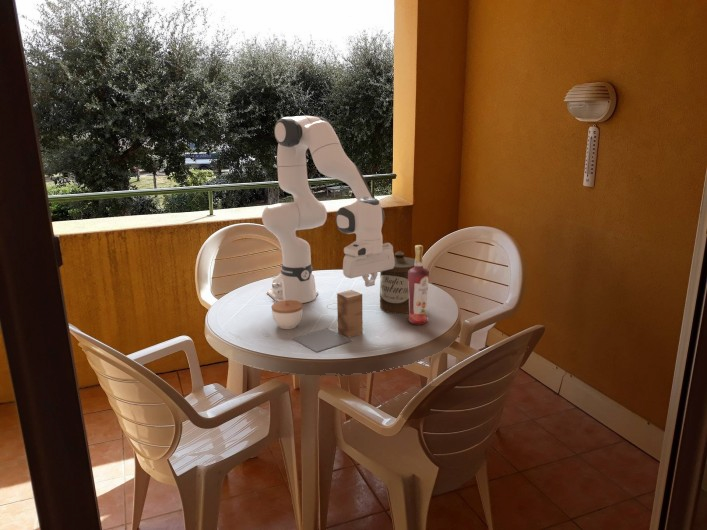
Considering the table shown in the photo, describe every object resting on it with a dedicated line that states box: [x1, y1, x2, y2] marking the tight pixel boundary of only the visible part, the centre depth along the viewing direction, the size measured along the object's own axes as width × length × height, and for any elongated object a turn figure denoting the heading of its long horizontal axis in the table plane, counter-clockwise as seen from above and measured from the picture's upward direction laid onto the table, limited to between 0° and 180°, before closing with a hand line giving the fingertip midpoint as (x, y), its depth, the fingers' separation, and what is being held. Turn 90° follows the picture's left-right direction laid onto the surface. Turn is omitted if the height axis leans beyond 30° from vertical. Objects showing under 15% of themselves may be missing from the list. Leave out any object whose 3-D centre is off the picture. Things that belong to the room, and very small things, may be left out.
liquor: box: [407, 244, 430, 326], centre depth 194 cm, size 7×7×28 cm
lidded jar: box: [271, 300, 303, 330], centre depth 195 cm, size 11×11×9 cm
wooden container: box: [379, 251, 415, 315], centre depth 210 cm, size 15×15×22 cm
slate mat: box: [292, 327, 353, 353], centre depth 184 cm, size 14×14×1 cm
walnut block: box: [336, 289, 364, 339], centre depth 188 cm, size 6×6×14 cm
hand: (369, 285), depth 190 cm, fingers closed
